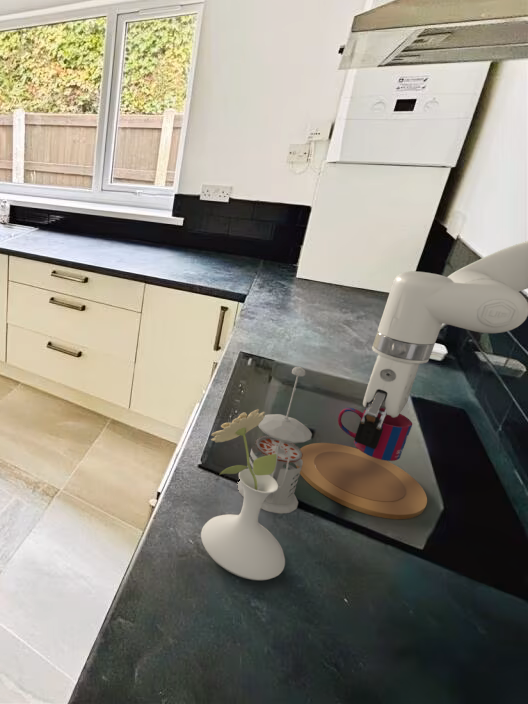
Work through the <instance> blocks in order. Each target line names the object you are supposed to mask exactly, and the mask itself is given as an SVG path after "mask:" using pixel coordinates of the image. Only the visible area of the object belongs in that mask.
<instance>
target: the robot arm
mask: <svg viewBox="0 0 528 704" xmlns="http://www.w3.org/2000/svg"><path fill="white" fill-rule="evenodd" d="M524 290H528V240H526V241H521V242H520V243H516V244H512V245H511V246H508V247H505V248H502V249H500V250H497V251H495V252H492V253H489V254H488V255H486V256H484V257H481V258H480V259H478V260H475V261H473V262H472V263H469V264H467V265H465V266H463V267H461V268H459V269H458V270H455V271H454V272H452V273H450V274H449V275H448V276H445V275H441V274H437V273H434V272H433V273H431V272H425V271H415V270H413V271H410V270H409V271H403V272H400V273H399V274H397V275H396V276H395V277H394V279H393V282H392V285H391V287H390V290H389V293H388V297H387V300H386V303H385V306H384V310H383V313H382V315H381V318H380V321H379V325H378V327H377V331H376V334H375V337H374V340H373V343H372V347H371V350H372V351H373V352H374V353H376V354H377V356H376V359H375V362H374V365H373V368H372V371H371V375H370V377H369V379H368V380H369V381H368V384H367V387H366V390H365V393H364V397H363V400H362V406H363V407H364V409H366V408H367V409H366V411H365V413H364V412H363V413H364V416H363V418H362V421H361V420H360V421H359V424H358V427H357V430H356V432H355V433H356V436H355V438H353V439H354V440H355V442H357V443H360V444H362V445H365V446H368V447H370V448H373V449H376V447H377V445H378V442H379V440H380V437H381V434H382V431H383V429H382V428H381V427H382V425H383V423H384V420H385V418H386V415H390V416H391V417H393V418H394V417H397V416H398V415H399V414H401V412H402V411H403V410H404V408H405V407H406V406H407V403H408V401H409V399H410V395H411V391H412V388H413V385H414V382H415V380H416V376H417V373H418V371H419V367H420V364H426V363H428V362H429V360H430V357H431V355H432V353H433V350H434V348H435V344H436V341H437V339H438V336H439V333H440V331H441V328H442V325H443V324H445V325H448V326H452V327H456V328H459V329H460V328H461V329H464V330H468V331H471V332H476V333H483V334H499V333H506V332H509V331H512V330H514V329H516V328H518V327H519V326H521V325H522V324H523V323H524V322H525V321H526V320H527V318H528V301H527V299H526V297H525V296H524V295H523V293H521V292H522V291H524ZM380 408H385V411H381V410H380ZM378 414H381V418H380V420H379V418H378V417H377V416H378ZM354 440H353V441H354Z"/></svg>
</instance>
